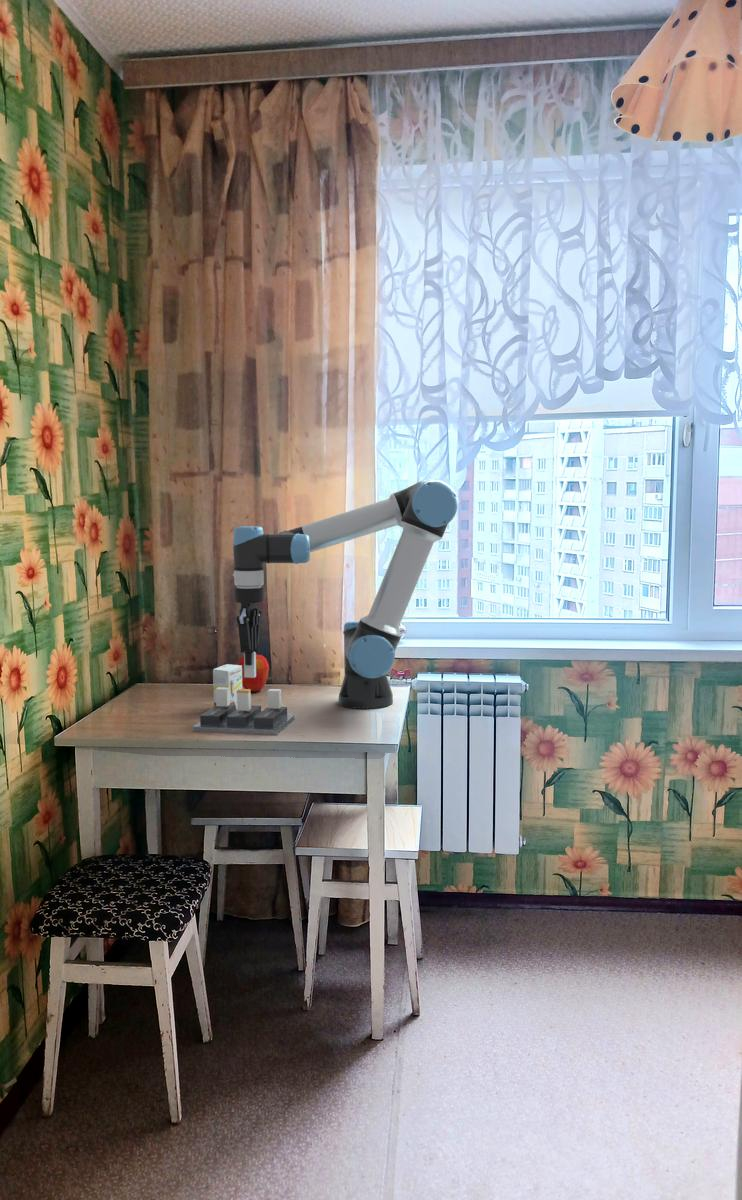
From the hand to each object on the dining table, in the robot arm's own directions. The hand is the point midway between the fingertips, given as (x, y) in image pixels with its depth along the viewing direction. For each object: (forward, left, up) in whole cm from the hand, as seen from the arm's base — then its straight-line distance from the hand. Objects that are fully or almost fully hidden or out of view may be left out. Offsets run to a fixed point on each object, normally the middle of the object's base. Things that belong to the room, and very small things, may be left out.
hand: (250, 676), depth 237 cm
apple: (+10, -31, -11) cm, 35 cm away
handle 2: (-7, +3, -7) cm, 11 cm away
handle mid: (0, +6, -7) cm, 10 cm away
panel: (0, +6, -11) cm, 13 cm away
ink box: (+10, -9, -12) cm, 17 cm away
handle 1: (+7, +3, -7) cm, 10 cm away
